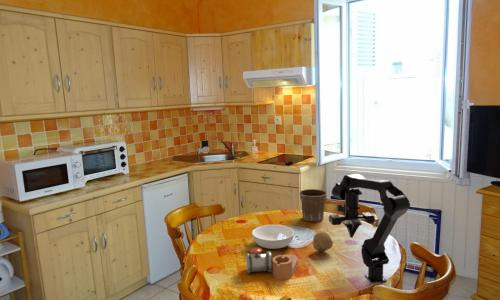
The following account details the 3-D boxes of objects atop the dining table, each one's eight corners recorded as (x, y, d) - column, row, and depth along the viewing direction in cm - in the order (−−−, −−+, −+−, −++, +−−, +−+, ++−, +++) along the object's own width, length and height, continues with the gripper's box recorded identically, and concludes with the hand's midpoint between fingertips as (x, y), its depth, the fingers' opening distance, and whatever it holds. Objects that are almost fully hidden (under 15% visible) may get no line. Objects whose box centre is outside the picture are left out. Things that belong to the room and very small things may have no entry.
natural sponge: (335, 250, 175) (335, 230, 173) (328, 257, 168) (328, 237, 166) (317, 246, 180) (317, 227, 178) (310, 253, 173) (309, 233, 171)
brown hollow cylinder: (289, 281, 149) (289, 265, 148) (270, 278, 152) (269, 262, 151) (300, 261, 165) (299, 247, 164) (282, 259, 168) (282, 244, 167)
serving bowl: (289, 256, 171) (288, 242, 170) (246, 251, 178) (246, 237, 176) (298, 238, 190) (297, 226, 189) (259, 234, 197) (259, 222, 196)
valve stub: (270, 266, 162) (269, 244, 161) (273, 275, 154) (272, 253, 152) (246, 268, 161) (245, 246, 160) (248, 277, 153) (247, 255, 151)
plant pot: (311, 212, 230) (311, 187, 227) (332, 218, 218) (332, 192, 215) (293, 218, 220) (293, 192, 217) (314, 225, 207) (314, 198, 205)
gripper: (365, 196, 166) (364, 229, 168) (325, 198, 164) (325, 231, 167) (375, 203, 155) (375, 238, 157) (332, 206, 153) (332, 241, 156)
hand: (351, 237), depth 160 cm, fingers closed
